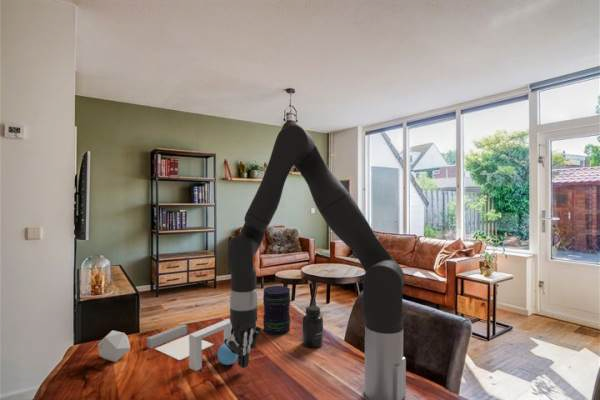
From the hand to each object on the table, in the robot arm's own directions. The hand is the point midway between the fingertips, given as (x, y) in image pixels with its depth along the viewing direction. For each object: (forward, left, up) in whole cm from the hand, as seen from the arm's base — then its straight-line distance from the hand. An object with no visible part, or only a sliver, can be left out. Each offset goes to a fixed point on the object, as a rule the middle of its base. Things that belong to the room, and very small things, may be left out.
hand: (243, 366), depth 95 cm
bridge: (+13, 0, -2) cm, 13 cm away
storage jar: (+11, -28, -2) cm, 30 cm away
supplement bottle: (-6, -26, -2) cm, 27 cm away
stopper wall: (+36, 0, -2) cm, 36 cm away
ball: (+7, -1, +1) cm, 7 cm away
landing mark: (+27, 0, -2) cm, 27 cm away
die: (+38, +17, -2) cm, 41 cm away
